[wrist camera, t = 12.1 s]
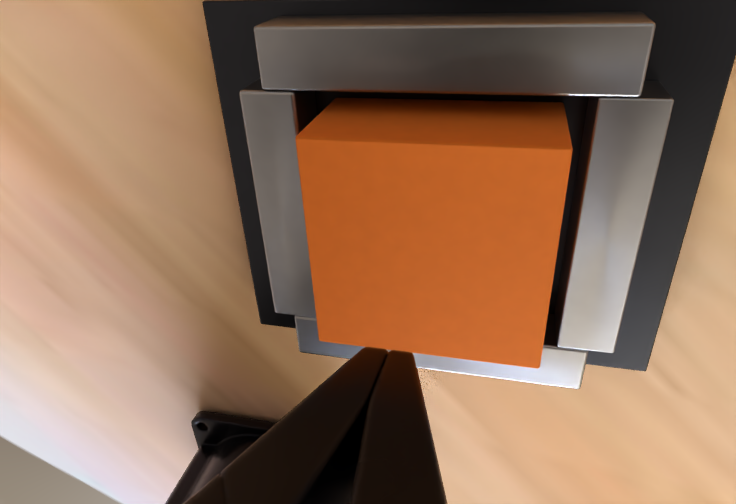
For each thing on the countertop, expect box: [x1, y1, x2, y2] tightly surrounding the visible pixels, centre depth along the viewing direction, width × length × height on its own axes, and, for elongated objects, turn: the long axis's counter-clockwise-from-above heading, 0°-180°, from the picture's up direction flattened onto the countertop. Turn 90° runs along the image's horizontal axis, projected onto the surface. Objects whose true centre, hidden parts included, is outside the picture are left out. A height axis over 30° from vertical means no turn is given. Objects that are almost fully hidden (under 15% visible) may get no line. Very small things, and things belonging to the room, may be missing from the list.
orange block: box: [295, 98, 573, 369], centre depth 13 cm, size 6×6×3 cm
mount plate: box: [203, 0, 736, 389], centre depth 15 cm, size 12×10×2 cm
